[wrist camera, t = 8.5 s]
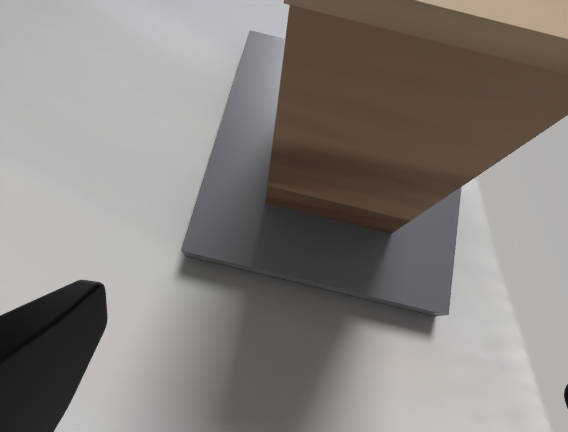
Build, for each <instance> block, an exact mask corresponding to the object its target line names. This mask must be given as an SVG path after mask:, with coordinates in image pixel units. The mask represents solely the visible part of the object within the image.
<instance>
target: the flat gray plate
mask: <svg viewBox="0 0 568 432" xmlns="http://www.w3.org/2000/svg"><path fill="white" fill-rule="evenodd" d="M284 47H285V39H282V38H278V37H274V36H270V35H266V34H262V33H258V32H254V31H249V34H248V37H247V41H246V44H245V47H244V50H243V54H242V57H241V60H240V63H239V66H238V70H237V73H236V76H235V79H234V82H233V86H232V89H231V92H230V95H229V98H228V102H227V105H226V108H225V111H224V114H223V118H222V121H221V124H220V127H219V130H218V134H217V137H216V140H215V143H214V147H213V150H212V153H211V156H210V159H209V163H208V166H207V169H206V172H205V175H204V179H203V182H202V185H201V188H200V191H199V195H198V198H197V201H196V204H195V207H194V211H193V214H192V217H191V220H190V224H189V227H188V230H187V233H186V236H185V240H184V243H183V246H182V249H181V251H182V252H183V253H184V255H185V256H189V257H193V258H198V259H202V260H206V261H210V262H214V263H218V264H222V265H227V266H231V267H235V268H239V269H243V270H247V271H251V272H256V273H260V274H264V275H268V276H272V277H276V278H280V279H285V280H289V281H293V282H297V283H301V284H305V285H309V286H314V287H318V288H322V289H326V290H330V291H334V292H338V293H343V294H347V295H351V296H355V297H359V298H363V299H367V300H372V301H376V302H380V303H384V304H388V305H392V306H396V307H401V308H405V309H409V310H413V311H417V312H421V313H425V314H430V315H434V316H443V315H449V305H450V295H451V285H452V275H453V265H454V255H455V245H456V235H457V225H458V215H459V205H460V195H461V187H460V188H459V189H457V190H456V191H454V192H453V193H451V194H450V195H448V196H447V197H445V198H444V199H442V200H441V201H440V202H438V203H437V204H435V205H434V206H432V207H431V208H429V209H428V210H426V211H425V212H423V213H422V214H420V215H419V216H417V217H416V218H414V219H413V220H411V221H410V222H408V223H407V224H405V225H404V226H402V227H401V228H400V229H398V230H397V231H395V232H394V233H388V232H384V231H380V230H376V229H372V228H368V227H363V226H359V225H355V224H351V223H347V222H343V221H339V220H335V219H330V218H326V217H322V216H318V215H314V214H310V213H306V212H301V211H297V210H293V209H289V208H285V207H281V206H277V205H272V204H268V203H265V199H266V191H267V183H268V175H269V167H270V159H271V151H272V143H273V135H274V127H275V119H276V111H277V103H278V95H279V87H280V79H281V71H282V63H283V55H284Z"/></svg>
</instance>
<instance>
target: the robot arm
mask: <svg viewBox="0 0 568 432" xmlns="http://www.w3.org/2000/svg"><path fill="white" fill-rule="evenodd" d="M106 324H107V304H106V292H105V287H104V285H103V284H102V283H100V282H95V281H88V280H78V281H76V282H74V283H71V284H69V285H67V286H65V287H63V288H60V289H58V290H56V291H54V292H51V293H49V294H47V295H45V296H43V297H40V298H38V299H36V300H34V301H32V302H29V303H27V304H25V305H23V306H20V307H18V308H16V309H14V310H12V311H9V312H7V313H5V314H3V315H1V316H0V432H54V430H55V428H56V427H57V425H58V423H59V422H60V420H61V418H62V417H63V415H64V413H65V411H66V410H67V408H68V406H69V404H70V402H71V400H72V398H73V396H74V394H75V392H76V390H77V388H78V386H79V384H80V381H81V379H82V377H83V375H84V373H85V371H86V369H87V367H88V364H89V362H90V360H91V358H92V356H93V354H94V352H95V350H96V347H97V345H98V343H99V341H100V339H101V337H102V335H103V333H104V330H105V328H106ZM564 398H565V402H566V405H567V408H568V384H567V386H566V388H565V392H564Z"/></svg>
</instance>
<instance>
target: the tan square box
mask: <svg viewBox="0 0 568 432" xmlns="http://www.w3.org/2000/svg"><path fill="white" fill-rule="evenodd" d="M284 3H285V4H289V5H290V7H289V15H288V23H287V31H286V39H285V47H284V55H283V63H282V71H281V79H280V87H279V95H278V103H277V111H276V119H275V127H274V135H273V143H272V151H271V159H270V167H269V175H268V183H267V191H266V199H265V203H268V204H272V205H277V206H281V207H285V208H289V209H293V210H297V211H301V212H306V213H310V214H314V215H318V216H322V217H326V218H330V219H335V220H339V221H343V222H347V223H351V224H355V225H359V226H363V227H368V228H372V229H376V230H380V231H384V232H388V233H394V232H395V231H397V230H398V229H400V228H401V227H402V226H404V225H405V224H407V223H408V222H410V221H411V220H413V219H414V218H416V217H417V216H419V215H420V214H422V213H423V212H425V211H426V210H428V209H429V208H431V207H432V206H434V205H435V204H437V203H438V202H440V201H441V200H442V199H444V198H445V197H447V196H448V195H450V194H451V193H453V192H454V191H456V190H457V189H459V188H460V187H462V186H463V185H465V184H466V183H468V182H469V181H471V180H472V179H474V178H475V177H477V176H478V175H479V174H481V173H482V172H484V171H485V170H487V169H488V168H490V167H491V166H493V165H494V164H496V163H497V162H499V161H500V160H502V159H503V158H505V157H506V156H508V155H509V154H511V153H512V152H513V151H515V150H516V149H518V148H519V147H521V146H522V145H524V144H525V143H527V142H528V141H530V140H531V139H532V138H534V137H536V136H537V135H539V134H540V133H542V132H543V131H545V130H546V129H548V128H549V127H550V126H552V125H554V124H555V123H557V122H558V121H559V120H561V119H562V118H564V117H565V116H567V115H568V0H284Z"/></svg>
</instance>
